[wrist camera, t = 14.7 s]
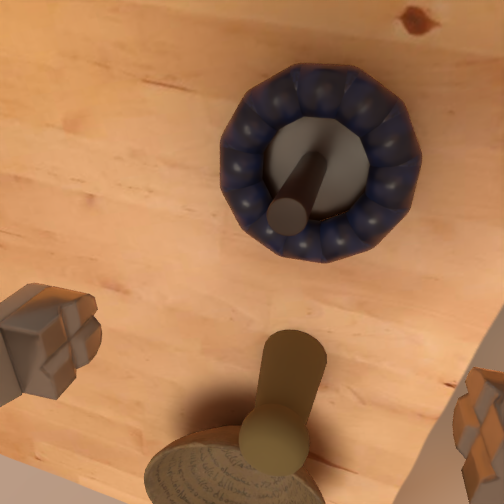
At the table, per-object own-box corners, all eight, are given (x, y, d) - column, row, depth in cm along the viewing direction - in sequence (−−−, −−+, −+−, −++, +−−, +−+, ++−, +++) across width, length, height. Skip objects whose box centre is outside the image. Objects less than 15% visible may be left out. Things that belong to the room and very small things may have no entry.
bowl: (321, 512, 46) (313, 593, 39) (179, 468, 50) (148, 534, 43) (348, 404, 37) (344, 482, 30) (173, 360, 41) (134, 422, 34)
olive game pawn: (265, 324, 36) (227, 421, 26) (331, 337, 34) (316, 444, 25) (261, 372, 38) (227, 476, 29) (322, 386, 37) (307, 499, 28)
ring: (196, 121, 28) (179, 127, 25) (374, 20, 22) (375, 15, 20) (274, 270, 32) (266, 289, 29) (442, 215, 26) (450, 232, 24)
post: (242, 135, 28) (179, 174, 19) (346, 81, 25) (332, 96, 16) (288, 228, 31) (252, 305, 21) (388, 190, 27) (399, 262, 18)
